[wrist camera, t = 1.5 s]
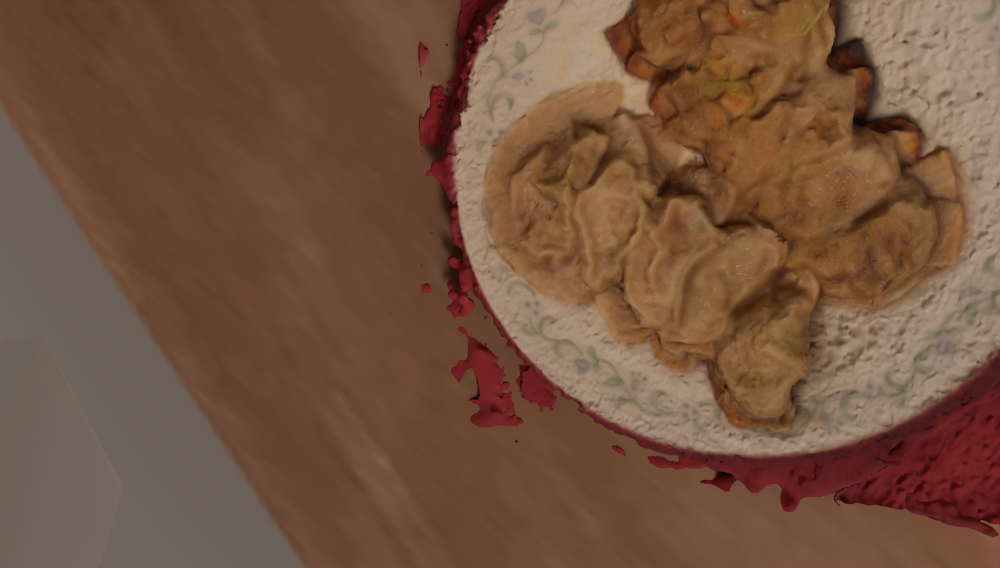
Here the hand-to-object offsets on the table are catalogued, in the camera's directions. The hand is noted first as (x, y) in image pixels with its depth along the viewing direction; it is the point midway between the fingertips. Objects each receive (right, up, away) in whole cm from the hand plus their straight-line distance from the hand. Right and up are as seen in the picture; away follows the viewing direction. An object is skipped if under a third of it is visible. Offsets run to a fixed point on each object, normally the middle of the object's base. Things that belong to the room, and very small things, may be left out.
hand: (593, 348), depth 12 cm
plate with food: (+8, +5, +25) cm, 27 cm away
